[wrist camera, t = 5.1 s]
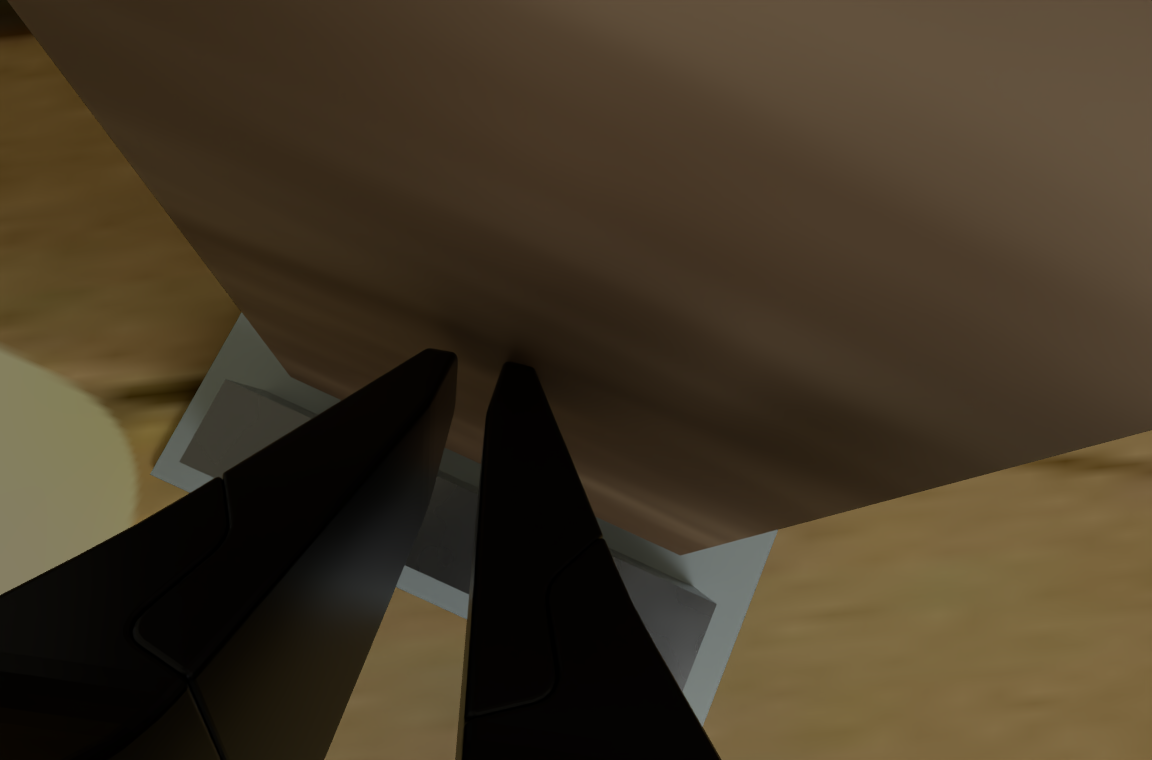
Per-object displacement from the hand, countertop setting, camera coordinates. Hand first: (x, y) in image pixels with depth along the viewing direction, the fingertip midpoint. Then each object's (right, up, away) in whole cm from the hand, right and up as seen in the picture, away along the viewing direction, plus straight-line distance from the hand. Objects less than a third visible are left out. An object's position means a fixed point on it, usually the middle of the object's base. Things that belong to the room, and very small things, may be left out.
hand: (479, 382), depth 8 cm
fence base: (-2, -4, +7) cm, 8 cm away
